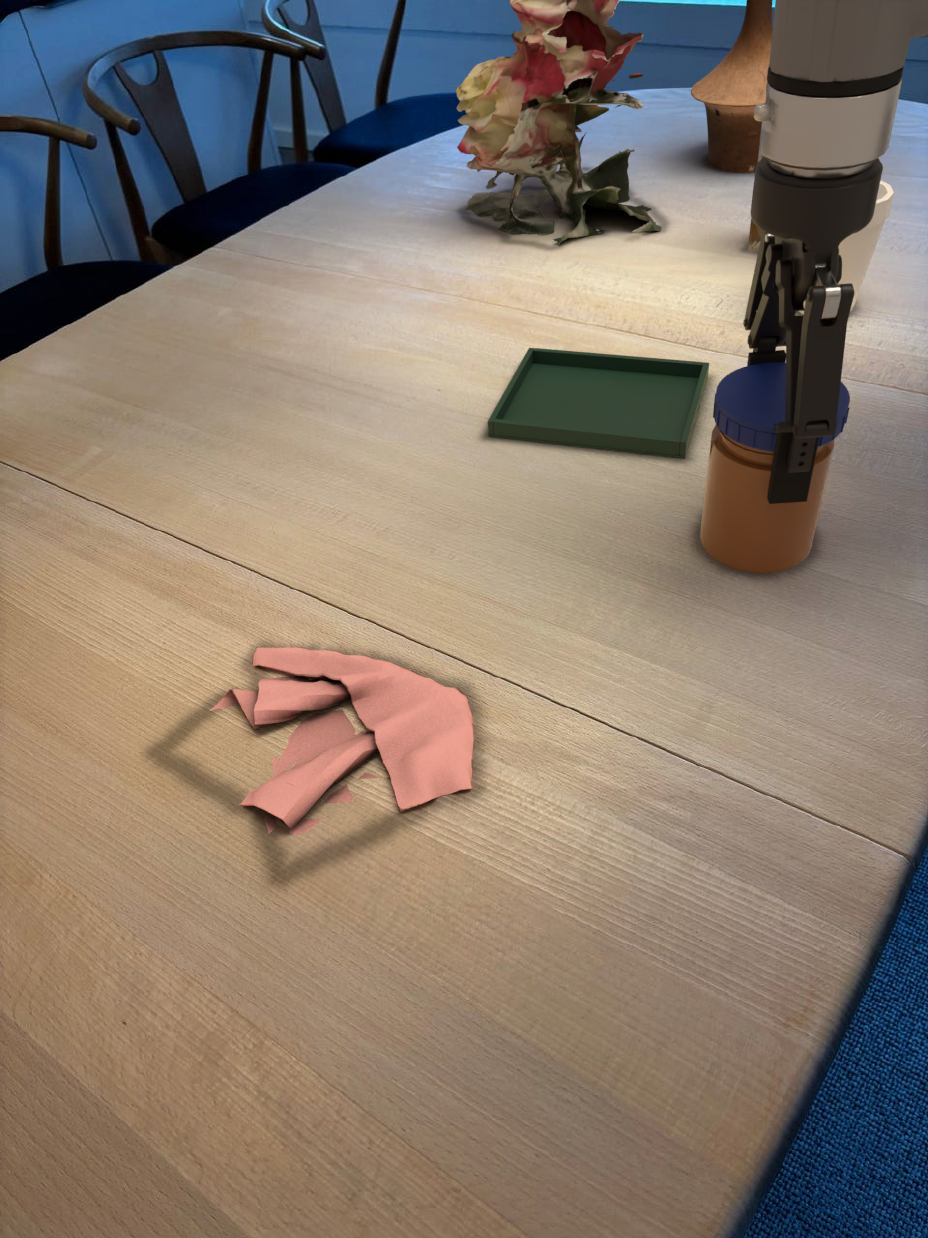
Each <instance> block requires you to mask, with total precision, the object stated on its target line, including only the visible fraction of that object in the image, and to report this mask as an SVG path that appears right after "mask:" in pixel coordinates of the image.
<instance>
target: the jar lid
mask: <svg viewBox="0 0 928 1238" xmlns="http://www.w3.org/2000/svg"><path fill="white" fill-rule="evenodd" d="M785 396H786V362H785V363H784V362H771V363H760V364H754V365H749V366H747V365H746V366H743V367H740V368H738V369H734V370H733V371H731V372H729V373H727V374H726V375H725V376H724V377H723V378H722V379H721V380H720V381H719V382H718V385H717V387H716V391H715V393H714V402H713V412H712V418H713V420H714V423H715V425H716V426H718V428H719V429H720V430H721V431H722V432H723V433H724V434H725V435H726V436H728V437H729V438H731V439H732V440H734V441H736V442H738V443H741V444H743V445H746V446H749V447H752V448H756V449H760V450H766V451H774V452H775V446H776V440H777V434H778V433H775V429H774V424H779V422H785ZM850 403H851V395H850V392H849V389H848V388H847V386H846V385H845V384H844V383H843V382H842V381H841V384H840V393H839V402H838V411H837V421H836V430H835V434H834V436H829V437H819V442H818V447H820V446H822V445H825V444H827V443H829V442H831V441H832V440H834V441H835V439H837V437H838V436H839V435H840V434H841V433H843V431H844V428H845V425H846V424H847V422H848V417H849V413H850V412H849V411H850V407H849V406H850Z"/></svg>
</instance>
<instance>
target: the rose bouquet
mask: <svg viewBox="0 0 928 1238" xmlns="http://www.w3.org/2000/svg"><path fill="white" fill-rule="evenodd" d="M619 3H620V0H509V5H510V7H511V9H512V10H513V11H514V13H515V14H516V16H517V19H518V21H519V23H520V25H521V27H522V30H520V31H519V30H518V31H517V30H516V31H515V30H514V31H513V32H512V33H511V35H510V36H511V38H512V40H513V43H514V44H515V46H516V51H514V52H513V54H512V55H511V56H498V57H497V58H496V59H489V60H486V61H483V62H480V63H477V64H475V65H474V67H473V68H472V70H470V71H469V73H468V75H466V77H465V78H464V80H463V82H462V83H461V84H459V86H457V88H456V89H455V93H456V98H457V99H458V100H459V103H458V104H457V106H456V110H457V112H460V113H462V112H463V111H465V113H466V114H464V115H462V116H461V117H460V118H458V119H457V122H458V123H459V124H460V125H462V126H468V128H467V129H466V131H465V133H464V135H463V136H462V139H461V140H460V141H459V143H458V145H457V146H456V148H457V150H458V152H459V153H462V154H464V155H473V156H474V157H473V158H472V159H471V160H470V161H468V162H466V166H465V167H467V168H468V169H470V170H476V172H477V173H479V172H481V171H494V172H496V173H495V175H494V176H493V177H491V178H490V179H489V180H488V182H487V184H486V185H485V186H486V187H485V189H486V190H492V189H495V188H496V187H497V186H498V183H496V179H497V178H498V177H499V176H500V175H501V174H503V173H507V174H509V175H510V176H514V178H513V186H512V191H511V190H510V191H503V192H493V191H492V192H491V191H490V192H488V191H487V192H477V193H475V194H473V195H472V196H471V197H469V199H468V200H467V204H466V208H465V209H464V211H470V212H471V213H472V214H474V215H475V216H476V217H478V218H488V217H492V218H493V219H492V221H493V222H496V223H500V222H503V223H502V224H500V225H499V226H496V229H497V231H499V232H500V233H501V232H502V233H504V234H508V235H511V236H521V235H530V236H531V235H537V236H541V237H543V236H550V235H553V234H554V233H555V226H556V223H557V222H556V220H555V219H553V218H550V217H547V216H545V215H544V213H543V211H542V210H541V208H540V207H542V205H544V204H545V203H546V202H549V201H550V200H553V202H554V204H555V205H556V207H557V208H558V212H559V214H560V215H559V216H558V218H559V219H568V220H570V221H574V222H573V225H574V228H573V230H571V231H570V232H568V233H565V234H562V236H560V237H556V238H553V239H552V240H553V241H554V242H556V244H558V246H560V245H561V244H562V242H564V241H566V240H567V239H575V238H584V237H591V236H599V235H603V234H605V232H606V231H605V228H602V229H599V228H597V227H592V226H589V225H588V224H587V222H586V214H585V213H587V210H586V209H585V208H584V204H585V205H586V206H589V207H590V208H593V209H599V210H600V209H603V210H607V211H623V212H625V213H626V214H627V215H629V216H630V217H633V216H634V217H636V218H637V219H639V220H642V221H646V224H643V225H642V226H639V227H637V228H636V229H634V230H632V231H631V232H632V233H640V232H651V231H657V232H662V229H663V228H662V226H661V225H658V224H656V223H657V222H655V220H654V219H653V218H652V217H651V216H650V215H649V212H650V211H652V210H653V209H652V208H651V207H648V206H645V205H643V204H641V205H636V206H635V205H630V204H623V203H628V202H629V201H630V200H631V197H630V195H629V192H630V178H629V174H628V173H629V172H628V170H629V158H630V155H631V153H634V152H635V151H636V150H635V149H629V148H626V149H624V150H623V151H618V152H616V153H615V154H613V155H612V156H610V157H608V158H606V159H604V161H601V163H599V164H598V165H597V166H595V167H594V168H592V169H590V170H589V171H587V172H584V171H583V170H582V156H581V147H582V144H583V142H584V138H585V136H586V134H587V131H586V132H585V133H584V134H583V135H582V136H581V138H580V139H579V137H578V135H577V134H576V133H581V134H582V133H583V132H582V128H580V127H579V126H580V125H582V124H585V123H587V122H590V121H592V120H594V119H597V118H598V117H600V116H601V115H603V114H605V113H607V112H609V111H610V108H609V107H606V105H616V106H615V107H614V109H615V108H618V107H622V106H626V107H629V108H631V109H634V110H642V109H643V108H644V103H642V102H641V101H640V100H639V99H637V98H636V97H634V96H632V95H630V94H629V92H619V91H614V90H608V89H606V88H607V85H608V84H609V83H610V82H611V81H613V82H614V81H615V79H614V77H615V76H616V75H617V74H618V72H619V71H620V70H621V69H622V67H623V64H624V63H625V60H626V58H627V56H628V55H629V54H631V53H632V51H633V49H634V48H635V46H636V45H637V43H642V41H643V38H644V33H643V32H627V33H623V34H622V33H621V32H620V31H618V30H617V29H614V28H615V27H614V26H613V25H610V23H608V22H610V21H609V20H610V19H611V18H613V17H614V15H615V10H617V7H618V6H617V5H618V4H619ZM642 77H644V73H641V72H636V73H633V74H629V75H628V79H631V80H632V79H638V78H642ZM691 117H692V115H689V119H691ZM558 167H559V169H558ZM528 178H536V179H538V180H539V181H540V182H541V184H542V185H543V186H544V187H545V189H544V188H542V190H540V191H538V192H535V193H522V192H520V191H521V189H522V187H523V185H524V182H525V180H526V179H528ZM516 215H519V216H516Z"/></svg>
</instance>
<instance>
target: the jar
mask: <svg viewBox="0 0 928 1238" xmlns="http://www.w3.org/2000/svg"><path fill="white" fill-rule="evenodd" d="M834 447H835V439H834V440H832V441H831V442H829V443H827V444H825V445H822V446H820V447H817V452H816V457H815V462H814V467H813V472H812V477H811V482H810V487H809V492H808V498H807V502H792V503H776V504H769V501H768V499H767V496H768V490H769V484H770V477H771V471H772V465H773V459H774V453H775V452H774V451H766V450H760V449H756V448H752V447H749V446H746V445H743V444H741V443H738V442H736V441H734V440H732V439H731V438H729V437H728V436H726V435H725V434H724V433H723V432H722V431H721V430H720V429H719V428H718V426H716V424H715V425H714V427H713V428H712V431H711V439H710V447H709V455H708V463H707V473H706V481H705V489H704V498H703V506H702V516H701V522H700V523H701V525H700V532H699V540H700V543H701V545H702V547H703V549H704V550H705V552H706V553H707V554H708V555H709V556H710V557H711V558H712V559H714V560H715V561H717V562H719V563H720V564H722V565H724V566H726V567H728V568H731V569H734V570H738V571H741V572H746V573H753V574H772V573H773V574H774V573H779V572H783V571H786V570H789V569H792V568H794V567H796V566H798V565H799V564H801V563H802V562H804V561H805V560H806V559H807V557H808V556H809V555H810V553H811V551H812V547H813V544H814V543H813V542H814V538H815V533H816V529H817V524H818V520H819V515H820V511H821V506H822V502H823V497H824V493H825V488H826V484H827V479H828V475H829V470H830V465H831V461H832V457H833V452H834Z"/></svg>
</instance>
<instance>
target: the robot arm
mask: <svg viewBox="0 0 928 1238" xmlns="http://www.w3.org/2000/svg"><path fill="white" fill-rule="evenodd" d="M773 13H774V14H773V21H772V27H773V32H772V42H771V52H770V61H769V65H768V66H769V67H768V73H767V85H766V101H765V103H761V104H757V105H756V106H755V108H754V118H755V120H756V121H762V126H761V136H760V145H759V149H760V151H761V153H762V154H763V155H764V156H763V157H762V159H761V160H760V161H759V162H758V163H757V165H756V169H755V172H754V180H753V187H752V197H751V205H750V219H751V218H752V220H753V222H754V224H755V225H756V226H757V227H758V228H759V229H761V239H760V245H759V250H758V253H757V256H756V261H755V265H754V271H753V275H752V276H753V277H752V280H751V285H750V290H749V295H748V300H747V305H746V308H745V309H746V311H745V315H744V319H743V323H742V324H743V327H744V330H745V331H749V333H748V336H747V340H746V341H747V345H748V349H750V350H752V351H751V352H748V355H747V363H746V366H749V365H754V364H760V363H771V362H784V363H786V396H785V422H779V424H774V429H775V433H778V434H777V440H776V446H775V453H774V459H773V465H772V471H771V477H770V484H769V490H768V496H767V499H768V501H769V504H776V503H792V502H807V498H808V492H809V487H810V482H811V477H812V472H813V467H814V462H815V457H816V452H817V447H818V442H819V437H829V436H834V434H835V430H836V421H837V411H838V402H839V393H840V384H841V382H842V375H843V374H842V373H843V366H844V358H845V357H844V356H845V346H846V339H847V338H846V337H847V328H848V323H849V322H848V321H849V317H850V313H851V312H850V309H851V305H852V301H853V297H854V288H853V284H852V283H849V284H838V283H839V281H840V280H841V277H842V258H841V255H839V248H838V246H839V245H840V243H841V242H842V241H843V240H844V239H845V238H847V237H848V236H850V235H852V234H853V233H857V232H859V231H861V230H862V229H864V228H865V227H866V226H867V225H868V224H869V223H870V221H871V220H872V218H873V214H874V210H875V205H876V200H877V195H878V190H879V185H880V180H881V181H882V175H883V171H884V166H883V163H882V162H881V160H880V159H879V158H881V157H882V156H884V155H885V154H886V152H887V151H888V149H889V146H890V141H891V137H892V133H893V126H894V122H895V118H896V112H897V108H898V103H899V97H900V93H901V88H902V82H903V72H904V67H905V63H906V59H907V56H908V52H909V48H910V43H911V40H912V39H914V38H926V37H928V0H775V2H774V12H773ZM798 311H804V315H803V314H801V315H796V313H797V312H798ZM778 347H779V348H780V347H785V349H778V350H777V348H778Z"/></svg>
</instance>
